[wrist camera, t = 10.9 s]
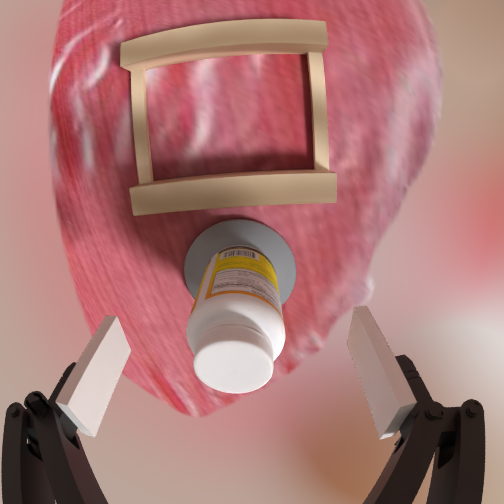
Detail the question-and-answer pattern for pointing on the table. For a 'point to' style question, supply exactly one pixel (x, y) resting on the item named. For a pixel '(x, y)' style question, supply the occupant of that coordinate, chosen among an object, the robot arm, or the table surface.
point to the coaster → (240, 234)
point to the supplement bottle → (236, 321)
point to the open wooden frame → (240, 183)
